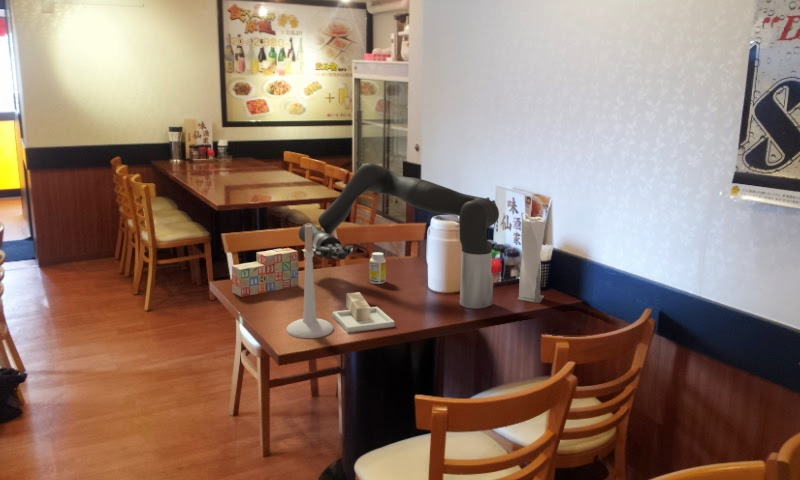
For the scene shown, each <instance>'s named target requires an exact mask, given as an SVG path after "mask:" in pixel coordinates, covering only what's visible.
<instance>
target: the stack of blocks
mask: <svg viewBox="0 0 800 480" xmlns="http://www.w3.org/2000/svg"><path fill="white" fill-rule="evenodd" d="M255 254H256V261H252V262H244V263H240V264H239V263H238V264H232V265H231V285H232V286H231V287H232V293H233V294H235V295H237V296H239V297H242V298H243V297H247V296H253V295H258V294H262V293H263V294H264V293H266V292H267V293H268V292H273V291H278V290H282V289H283V290H284V289H288V288H294V287H299V251H298V250H295V249H293V248H290V247H286V248H285V247H284V248H276V249H275V248H274V249H271V250H265V251H259V252H258V251H257V252H255Z"/></svg>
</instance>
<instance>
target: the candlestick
mask: <svg viewBox="0 0 800 480" xmlns="http://www.w3.org/2000/svg"><path fill="white" fill-rule="evenodd" d="M301 251H303V252H302V253H303V256H304V258H305V263H304V264H305V266H304V268H305V269H304V292H303V317H302V318H299V319H296V320H294V321H292V322H291V323H289V324H288V326H287V327H286V333H287V335H290V336H292V337H295V338H299V339H316V338H322V337H326V336H328V335H330V334H331V333H333V331H334V326H333V324H332V323H331V322H329V321H327V320H325V319H323V318H317V309H316V297H315V296H316V295H315V281H314V280H315V279H314V277H315V276H314V262H313V257H315V254H314V253H315V252H316V250H315V249H313V246H312V226H311V225H306V226H305V242H304V248H303V249H301Z"/></svg>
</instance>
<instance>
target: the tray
mask: <svg viewBox="0 0 800 480" xmlns="http://www.w3.org/2000/svg"><path fill="white" fill-rule="evenodd" d="M332 318H333V319H334V320H335V321H336V323H338V324H339V325H340V327H342V328H343V329H344V331H346V333H355V332H363V331H371V330H378V329H379V330H380V329H387V328H395V326H396V325H395V324H396V323H395V320H393V318H391V317H390V316H388V314H386V313H385V312H384V311H383V310H382V309H380V307H378V306H372V307H371V306H370V320H364V321H356V320H355V318H354V317H353V315H352V314H351V312H350V311H349V309H344V310H336V311H332Z"/></svg>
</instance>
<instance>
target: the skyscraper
mask: <svg viewBox="0 0 800 480" xmlns="http://www.w3.org/2000/svg"><path fill="white" fill-rule="evenodd" d="M520 214H521V216H520V217H521V235H520V236H521V239H520V240H521V253H522V255H521V262H520V270H519V281H518V282H519V285H518V288H519V289H518V298H517V301H520V302H528V303H535V304H540V303H541V302H542V301H543V299H544V297H545V296H544V295H541V282H542V281H541V280H542V277H541V276H542V275H541V274H542V263H541V262H542V261H541V251H542V248H543V242H544V239H545V238H544V236H545V231H546V230H545V229H546V219H544V218H543V217H540V216H535V217H534V216H531V217H530V215H529V214H528V213H527V212H524V211H522V212H520ZM524 215H526V216H527V217H528V218H527V219H526V218H525V219H524Z"/></svg>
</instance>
